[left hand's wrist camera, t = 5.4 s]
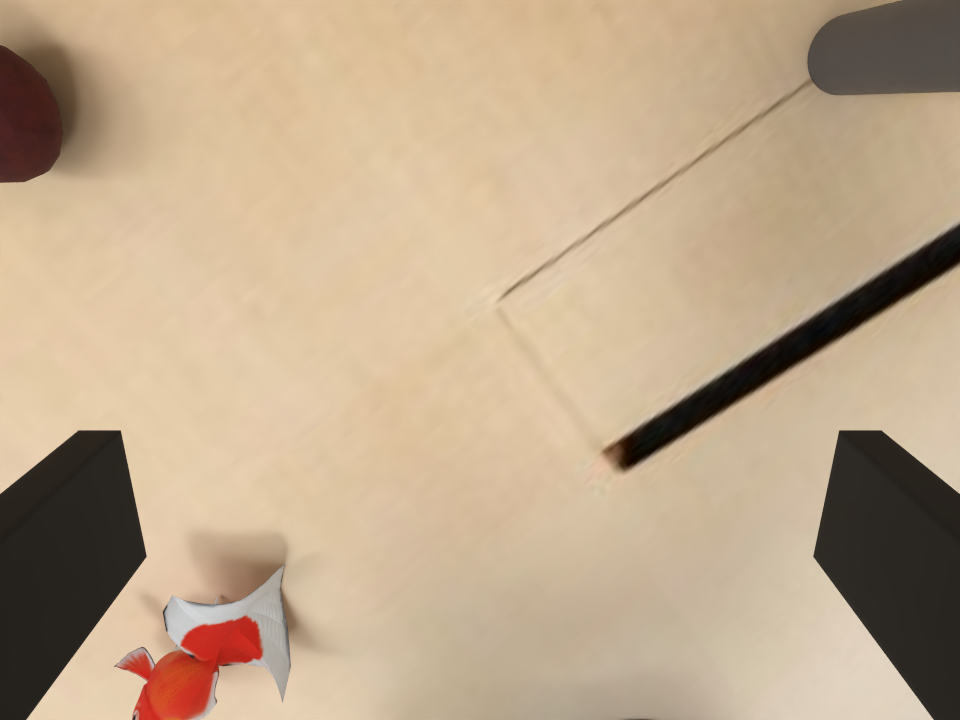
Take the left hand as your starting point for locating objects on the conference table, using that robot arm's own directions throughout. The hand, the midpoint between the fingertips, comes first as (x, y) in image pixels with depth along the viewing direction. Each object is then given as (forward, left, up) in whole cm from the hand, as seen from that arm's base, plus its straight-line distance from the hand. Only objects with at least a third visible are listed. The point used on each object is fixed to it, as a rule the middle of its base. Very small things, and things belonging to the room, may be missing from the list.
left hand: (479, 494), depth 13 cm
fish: (-30, +20, -32) cm, 48 cm away
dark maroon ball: (+6, +27, -32) cm, 42 cm away
